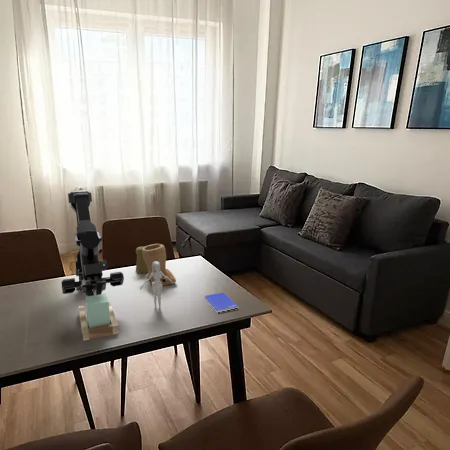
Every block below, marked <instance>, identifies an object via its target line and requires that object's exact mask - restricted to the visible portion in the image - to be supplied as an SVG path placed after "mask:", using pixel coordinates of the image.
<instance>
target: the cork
mask: <svg viewBox="0 0 450 450" xmlns="http://www.w3.org/2000/svg"><path fill="white" fill-rule="evenodd" d="M144 247H145V246H138V247H136V249H135V254H136V255H137V256H136V263H135V264H136V265H135V273H137V274H148V272H149V269H148V266H147V264H146V262H145V260H144V258H143V253H142V249H143V248H144Z"/></svg>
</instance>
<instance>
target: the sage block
mask: <svg viewBox="0 0 450 450" xmlns="http://www.w3.org/2000/svg"><path fill="white" fill-rule="evenodd" d="M109 301H110V300H109V298H108V295H107V293H101V294H100V295H96V294H94V296H87V295H86V296H85V303H86V304H85V305H86V320H87V326H88V328H92V327H97V326H102V325H107V324H110V313H109Z"/></svg>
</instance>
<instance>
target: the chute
mask: <svg viewBox="0 0 450 450" xmlns="http://www.w3.org/2000/svg"><path fill="white" fill-rule="evenodd" d="M108 301H109V313H110V324H107V325H102V326H97V327H92V328H88V320H87V315H86V313H85V307H84V305H79V306H78V315H79V323H80V328H81V333H82V340H83V341H85V342H86V341H89V340H93V339H98V338H104V337H109V336H113V335H117V334H120V333H119V324H118V321H117V318H116V315H115V312H114V310H113V307H112V304H111V301H110V300H108Z"/></svg>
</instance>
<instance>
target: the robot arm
mask: <svg viewBox="0 0 450 450" xmlns="http://www.w3.org/2000/svg"><path fill="white" fill-rule="evenodd" d="M92 198H93V196H92V192H91V191H90V192H89V191H88V189H73V190H70V192H69V193H67V199H68V204H70V208H71V210H73V212H74V213H75V218H76V228H75V229H76V233H74V239H75V241H74V242H75V245H76V246H78V247H79V250H78V252H77V254H76V258H75V259H76V260H74V270H75V276H76V277H78V281H76V279H75V277H73V278H66V279H62V280H61V291H62V295H63V294H64V295H66V294H67V295H68V294H73V293H75V292H76V290H80V291H81V294H85V295H86V297H87V296H94V295H100V294H103V293H102V292H103V291H105V290H106V288H107V284H110V285H109V286H111V287H119V286H122V285H123V284H124V281H125V279H124V278H125V277H124V273H123V272H122V271H116V272H111V273H110V275H109V276H106V277H103V271H107V270H108V262H107V259H101V260H100V256H99V252H100V243H101V242H102V241H103V238H102V235H101V234H100V232H99V231H97V229H96V225H95V224H94V223H93V222H92V219H91V214H90V205H91V203H92V202H93V199H92ZM94 290H95V293H94Z"/></svg>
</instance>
